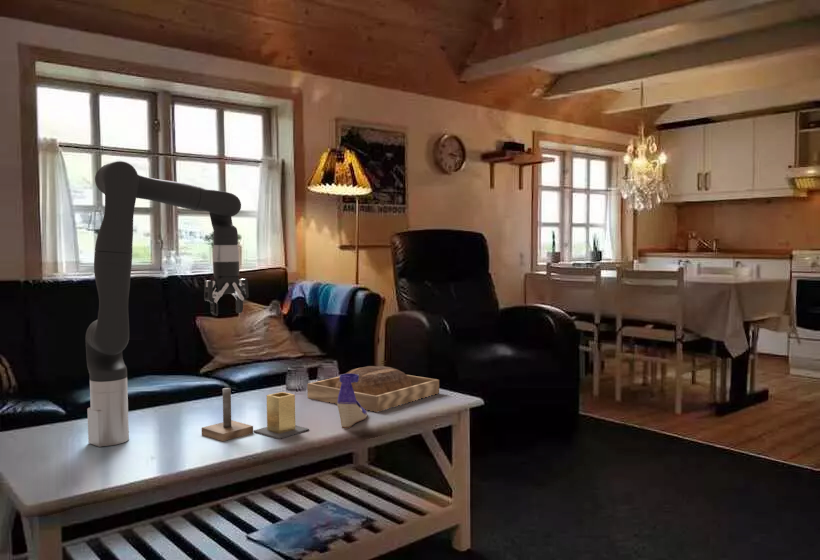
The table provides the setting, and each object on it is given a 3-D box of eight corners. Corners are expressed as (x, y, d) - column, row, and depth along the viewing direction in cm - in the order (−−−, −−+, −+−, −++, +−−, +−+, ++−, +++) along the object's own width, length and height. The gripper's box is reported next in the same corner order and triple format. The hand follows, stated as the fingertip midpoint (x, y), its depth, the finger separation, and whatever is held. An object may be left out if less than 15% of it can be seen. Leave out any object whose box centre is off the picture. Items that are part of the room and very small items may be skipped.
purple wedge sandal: (374, 413, 210) (373, 365, 209) (353, 430, 191) (352, 378, 190) (349, 411, 212) (349, 364, 211) (326, 428, 193) (325, 377, 192)
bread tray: (376, 412, 211) (376, 396, 210) (307, 397, 231) (307, 383, 231) (439, 393, 236) (439, 379, 236) (372, 382, 256) (372, 369, 256)
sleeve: (279, 433, 186) (278, 398, 185) (267, 429, 190) (266, 395, 189) (295, 429, 190) (294, 394, 189) (283, 425, 194) (282, 391, 193)
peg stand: (223, 441, 181) (222, 394, 180) (201, 434, 187) (200, 389, 186) (253, 433, 188) (252, 388, 188) (231, 427, 195) (230, 383, 194)
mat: (278, 439, 182) (278, 437, 182) (253, 432, 189) (253, 430, 189) (309, 430, 191) (309, 428, 191) (283, 424, 198) (283, 422, 198)
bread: (321, 394, 237) (320, 367, 237) (379, 383, 255) (379, 358, 254) (366, 407, 218) (366, 377, 217) (426, 394, 236) (426, 367, 235)
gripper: (213, 261, 193) (214, 317, 194) (253, 259, 204) (254, 312, 205) (198, 260, 198) (199, 315, 199) (238, 259, 209) (239, 311, 210)
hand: (227, 314), depth 202 cm, fingers open, 8 cm apart
